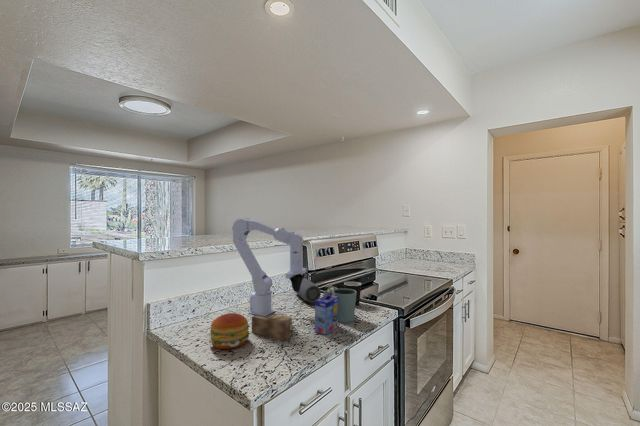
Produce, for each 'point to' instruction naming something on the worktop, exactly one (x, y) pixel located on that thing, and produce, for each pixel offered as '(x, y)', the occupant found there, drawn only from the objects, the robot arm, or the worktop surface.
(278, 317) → the block
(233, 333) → the burger
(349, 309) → the grey green cup
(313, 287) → the bluetooth speaker
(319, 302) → the ink cartridge box
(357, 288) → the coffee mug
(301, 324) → the worktop surface
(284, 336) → the wall
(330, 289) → the food container
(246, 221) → the robot arm
